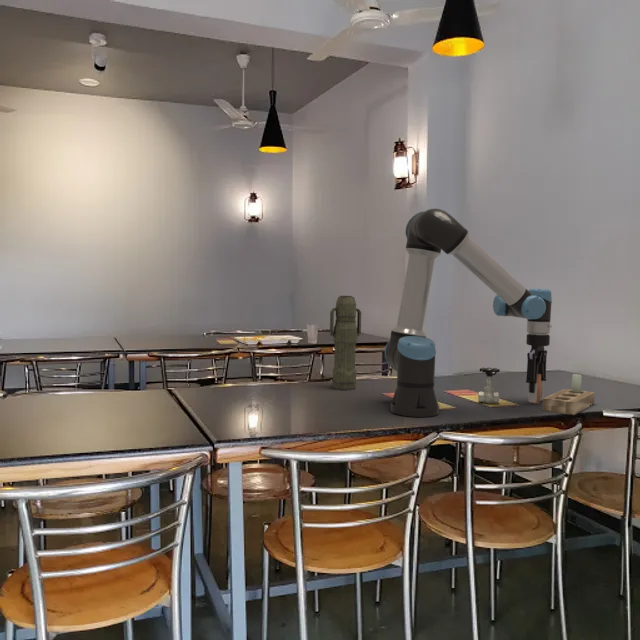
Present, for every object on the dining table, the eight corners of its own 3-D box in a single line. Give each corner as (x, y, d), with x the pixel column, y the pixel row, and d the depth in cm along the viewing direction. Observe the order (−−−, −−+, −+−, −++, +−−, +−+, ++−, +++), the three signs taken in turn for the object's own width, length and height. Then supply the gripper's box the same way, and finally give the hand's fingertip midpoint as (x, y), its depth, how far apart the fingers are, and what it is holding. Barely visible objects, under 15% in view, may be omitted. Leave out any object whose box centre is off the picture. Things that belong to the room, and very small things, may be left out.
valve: (499, 406, 213) (500, 370, 212) (478, 405, 215) (480, 369, 214) (497, 402, 220) (499, 367, 219) (478, 401, 221) (479, 367, 220)
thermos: (363, 389, 239) (365, 296, 237) (334, 391, 235) (336, 296, 232) (353, 385, 247) (355, 295, 245) (325, 387, 243) (327, 295, 240)
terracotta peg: (529, 403, 219) (530, 374, 219) (532, 401, 222) (533, 373, 221) (538, 404, 217) (539, 375, 217) (541, 402, 220) (542, 374, 219)
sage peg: (570, 403, 220) (571, 374, 219) (572, 402, 222) (573, 373, 221) (579, 404, 218) (580, 375, 217) (581, 403, 220) (582, 374, 220)
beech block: (542, 410, 207) (542, 398, 207) (564, 399, 226) (564, 388, 226) (574, 414, 201) (574, 402, 201) (594, 403, 220) (594, 392, 220)
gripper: (540, 336, 208) (537, 406, 210) (557, 332, 223) (554, 398, 225) (517, 334, 213) (514, 403, 214) (536, 331, 228) (533, 395, 229)
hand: (535, 400), depth 219 cm, fingers open, 6 cm apart
